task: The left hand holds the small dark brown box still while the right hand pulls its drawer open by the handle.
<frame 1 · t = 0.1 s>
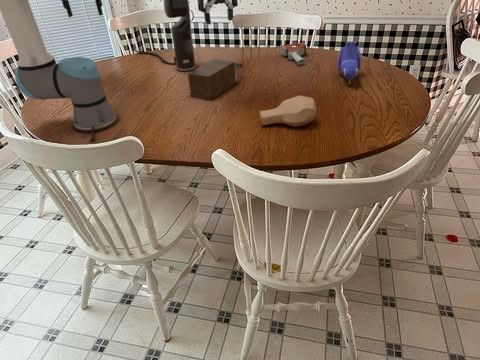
left hand: (86, 15, 157), 28 cm above the table, tool pointing down, fingers open, 13 cm apart
right hand: (219, 22, 128), 29 cm above the table, tool pointing down, fingers open, 8 cm apart
toy: (347, 79, 155), on the table
dark brown box: (214, 89, 153), on the table
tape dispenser: (293, 58, 182), on the table
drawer: (220, 74, 154), point 5 cm above the table, slide at 0.8 cm
squash: (287, 123, 125), on the table
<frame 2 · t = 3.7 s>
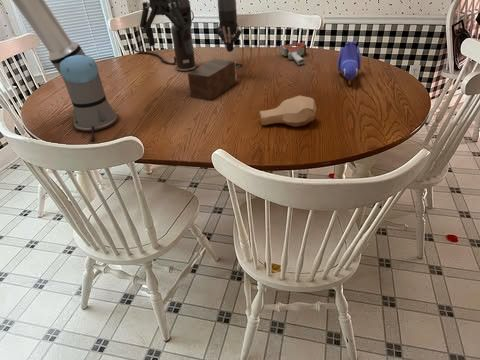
left hand: (166, 46, 145), 18 cm above the table, tool pointing down, fingers open, 13 cm apart
right hand: (230, 51, 157), 12 cm above the table, tool pointing down, fingers closed
nothing on the table moved.
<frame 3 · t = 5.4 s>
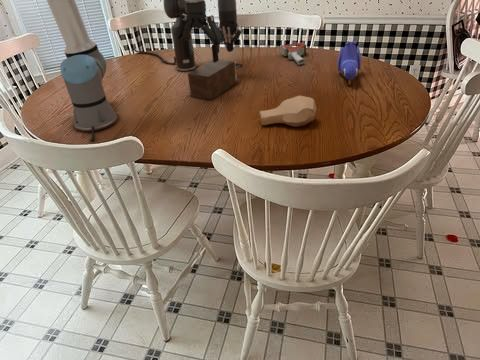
left hand: (201, 59, 141), 15 cm above the table, tool pointing down, fingers open, 13 cm apart
right hand: (230, 51, 157), 12 cm above the table, tool pointing down, fingers closed
nothing on the table moved.
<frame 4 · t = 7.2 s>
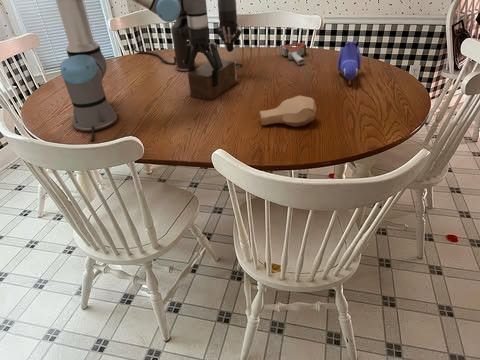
left hand: (204, 83, 146), 5 cm above the table, tool pointing down, fingers closed on dark brown box, 10 cm apart
right hand: (230, 51, 157), 12 cm above the table, tool pointing down, fingers closed
dark brown box: (214, 89, 153), on the table, touching left hand
everything else where it was.
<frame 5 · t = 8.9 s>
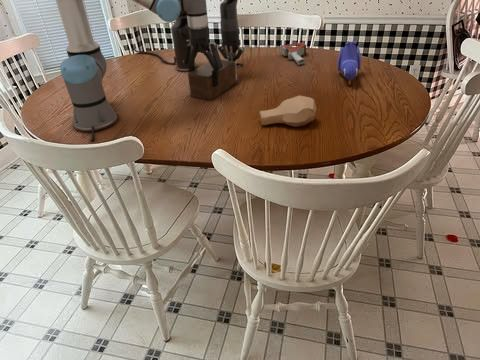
left hand: (204, 83, 146), 5 cm above the table, tool pointing down, fingers closed on dark brown box, 10 cm apart
right hand: (232, 68, 162), 4 cm above the table, tool pointing down, fingers closed
dark brown box: (214, 89, 153), on the table, touching left hand
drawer: (220, 73, 155), point 5 cm above the table, slide at 1.3 cm, touching right hand
everything else where it was.
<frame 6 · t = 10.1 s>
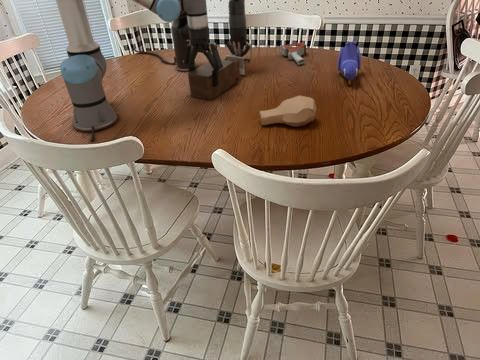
left hand: (205, 83, 146), 5 cm above the table, tool pointing down, fingers closed on dark brown box, 10 cm apart
right hand: (239, 64, 166), 4 cm above the table, tool pointing down, fingers closed
dark brown box: (214, 89, 153), on the table, touching left hand
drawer: (228, 69, 159), point 5 cm above the table, slide at 7.9 cm, touching right hand
everything else where it was.
when the left hand's fingers open (5 cm above the table, at t = 11.7 s): dark brown box stays where it is, on the table.
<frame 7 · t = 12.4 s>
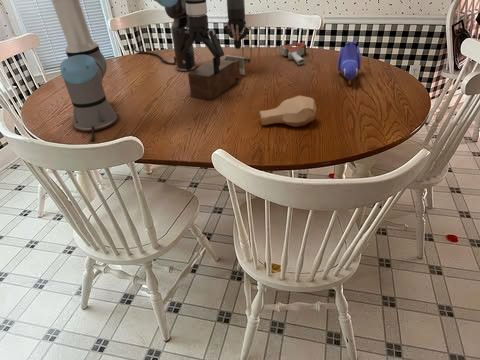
left hand: (202, 71, 143), 10 cm above the table, tool pointing down, fingers open, 13 cm apart
right hand: (238, 48, 162), 12 cm above the table, tool pointing down, fingers closed
dark brown box: (214, 89, 153), on the table
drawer: (228, 69, 159), point 5 cm above the table, slide at 8.0 cm
everything else where it was.
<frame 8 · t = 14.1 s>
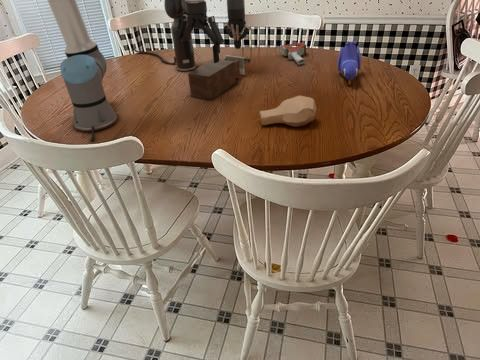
left hand: (202, 60, 141), 14 cm above the table, tool pointing down, fingers open, 13 cm apart
right hand: (238, 48, 162), 12 cm above the table, tool pointing down, fingers closed
nothing on the table moved.
at the end: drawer slide at 8.0 cm; dark brown box tilted 0°; dark brown box never tilted more than 1° during the clip; dark brown box moved 0.1 cm from its start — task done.
